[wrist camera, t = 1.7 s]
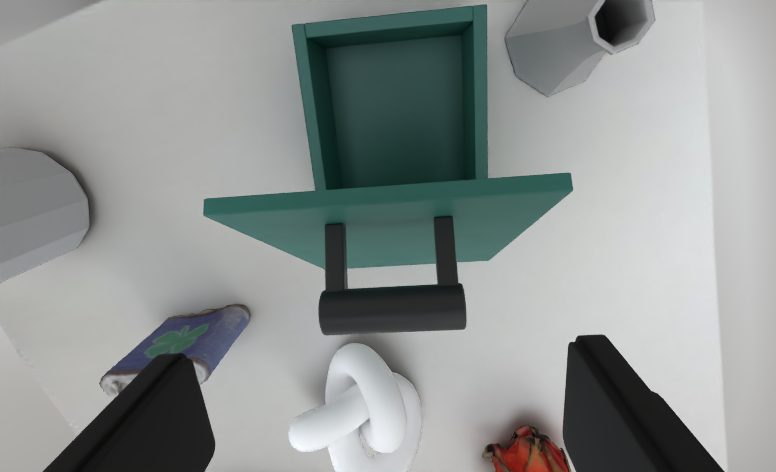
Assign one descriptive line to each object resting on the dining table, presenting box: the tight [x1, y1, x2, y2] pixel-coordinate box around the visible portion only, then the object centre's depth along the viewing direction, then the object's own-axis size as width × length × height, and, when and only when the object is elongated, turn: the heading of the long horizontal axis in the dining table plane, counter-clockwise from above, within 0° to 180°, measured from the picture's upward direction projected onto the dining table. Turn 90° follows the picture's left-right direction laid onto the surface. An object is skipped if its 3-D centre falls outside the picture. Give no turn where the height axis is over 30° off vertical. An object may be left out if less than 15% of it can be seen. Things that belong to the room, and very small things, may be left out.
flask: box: [505, 0, 655, 97], centre depth 25 cm, size 7×7×10 cm
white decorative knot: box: [288, 343, 423, 472], centre depth 37 cm, size 11×12×9 cm
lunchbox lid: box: [203, 173, 573, 335], centre depth 20 cm, size 16×12×5 cm
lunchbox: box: [292, 4, 488, 191], centre depth 30 cm, size 16×12×7 cm
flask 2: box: [99, 305, 250, 398], centre depth 35 cm, size 9×3×11 cm, turn 103°
